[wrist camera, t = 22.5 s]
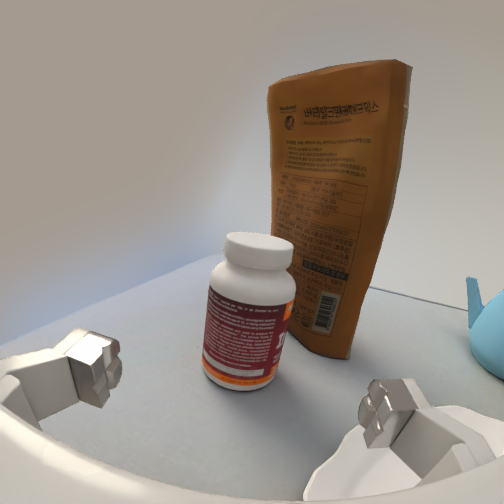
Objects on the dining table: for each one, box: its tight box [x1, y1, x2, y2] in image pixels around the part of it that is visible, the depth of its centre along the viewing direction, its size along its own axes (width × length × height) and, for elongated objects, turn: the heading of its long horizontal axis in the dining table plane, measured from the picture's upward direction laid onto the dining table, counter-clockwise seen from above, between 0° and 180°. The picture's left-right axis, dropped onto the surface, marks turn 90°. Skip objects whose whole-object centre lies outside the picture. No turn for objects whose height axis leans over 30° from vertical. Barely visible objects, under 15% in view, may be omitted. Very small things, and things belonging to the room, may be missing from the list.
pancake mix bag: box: [267, 59, 413, 359], centre depth 28 cm, size 7×19×28 cm, turn 27°
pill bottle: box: [202, 232, 296, 391], centre depth 21 cm, size 6×6×11 cm
